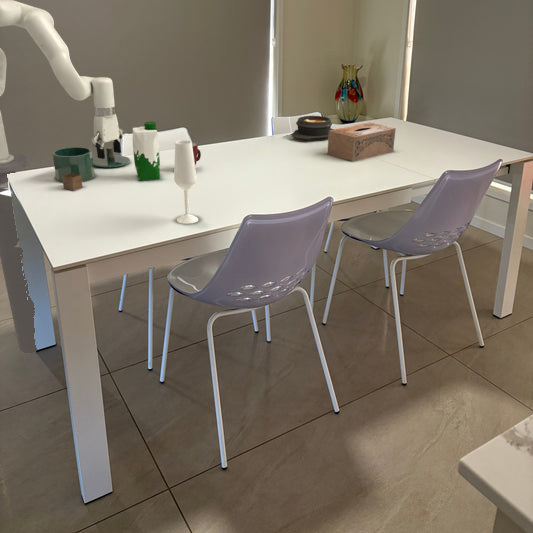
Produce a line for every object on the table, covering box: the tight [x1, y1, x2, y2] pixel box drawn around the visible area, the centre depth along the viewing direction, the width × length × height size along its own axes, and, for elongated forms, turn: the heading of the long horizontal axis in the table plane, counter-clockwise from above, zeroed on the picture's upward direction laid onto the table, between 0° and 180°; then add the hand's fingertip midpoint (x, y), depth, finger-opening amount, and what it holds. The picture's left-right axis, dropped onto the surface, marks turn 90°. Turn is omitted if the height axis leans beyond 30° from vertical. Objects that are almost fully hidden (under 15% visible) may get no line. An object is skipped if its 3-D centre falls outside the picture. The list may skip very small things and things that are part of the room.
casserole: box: [290, 115, 335, 140], centre depth 275 cm, size 25×19×8 cm
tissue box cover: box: [327, 121, 396, 162], centre depth 250 cm, size 26×14×10 cm, turn 130°
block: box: [62, 173, 83, 192], centre depth 205 cm, size 4×4×4 cm
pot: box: [52, 146, 96, 183], centre depth 216 cm, size 14×14×10 cm
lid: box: [93, 146, 131, 168], centre depth 232 cm, size 15×15×6 cm
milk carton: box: [132, 121, 161, 182], centre depth 214 cm, size 9×9×20 cm
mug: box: [191, 141, 202, 166], centre depth 226 cm, size 10×8×10 cm
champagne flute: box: [173, 139, 199, 225], centre depth 175 cm, size 7×7×24 cm
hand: (109, 155), depth 232 cm, fingers open, 9 cm apart
